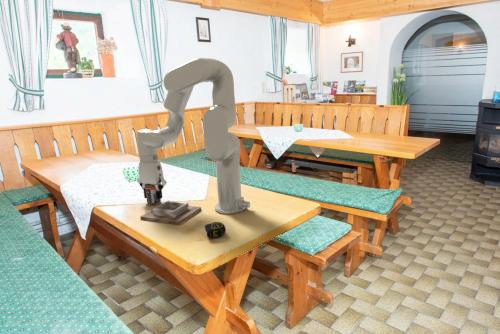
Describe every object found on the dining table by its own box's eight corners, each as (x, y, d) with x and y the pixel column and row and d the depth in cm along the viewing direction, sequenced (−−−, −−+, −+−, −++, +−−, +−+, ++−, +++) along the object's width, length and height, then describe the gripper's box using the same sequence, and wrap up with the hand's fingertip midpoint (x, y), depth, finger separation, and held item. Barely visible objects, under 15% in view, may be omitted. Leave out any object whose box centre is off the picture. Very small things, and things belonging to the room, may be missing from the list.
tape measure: (205, 232, 125) (204, 222, 124) (224, 230, 126) (223, 220, 125) (207, 241, 118) (206, 230, 117) (227, 238, 120) (226, 227, 119)
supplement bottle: (145, 203, 158) (142, 178, 155) (157, 200, 161) (155, 176, 158) (150, 206, 153) (146, 181, 150) (163, 203, 156) (160, 178, 154)
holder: (201, 210, 146) (200, 201, 145) (178, 225, 132) (177, 215, 131) (165, 205, 153) (164, 197, 152) (140, 219, 139) (139, 210, 138)
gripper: (170, 157, 152) (174, 197, 156) (138, 155, 159) (143, 193, 163) (159, 161, 145) (164, 202, 150) (127, 159, 152) (132, 198, 157)
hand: (153, 197), depth 156 cm, fingers closed on supplement bottle, 6 cm apart
